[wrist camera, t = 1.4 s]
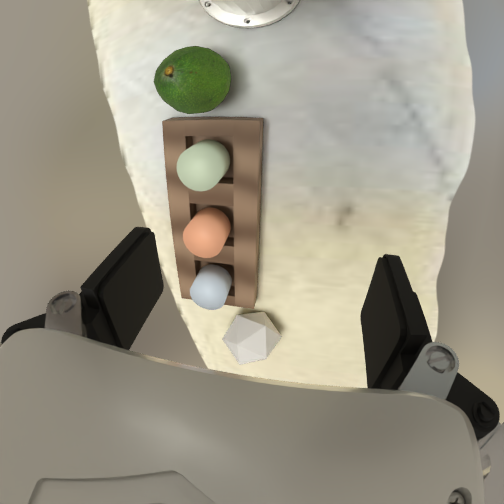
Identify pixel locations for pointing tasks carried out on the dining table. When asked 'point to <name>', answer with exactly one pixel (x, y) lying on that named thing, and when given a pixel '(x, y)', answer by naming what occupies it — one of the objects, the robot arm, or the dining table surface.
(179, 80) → the avocado
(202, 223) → the button terracotta
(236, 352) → the die
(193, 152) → the button sage
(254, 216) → the board
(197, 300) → the button blue
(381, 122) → the dining table surface
